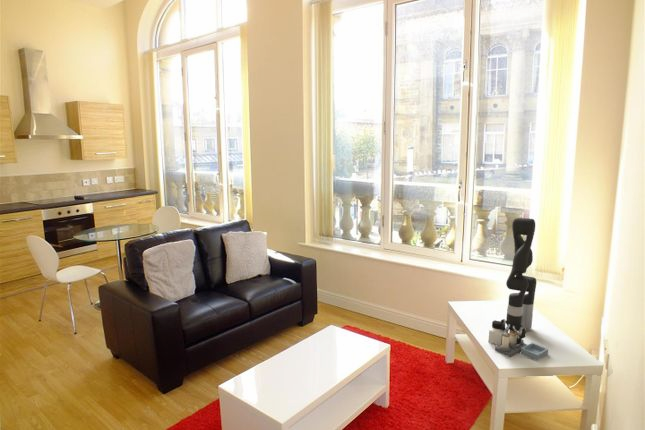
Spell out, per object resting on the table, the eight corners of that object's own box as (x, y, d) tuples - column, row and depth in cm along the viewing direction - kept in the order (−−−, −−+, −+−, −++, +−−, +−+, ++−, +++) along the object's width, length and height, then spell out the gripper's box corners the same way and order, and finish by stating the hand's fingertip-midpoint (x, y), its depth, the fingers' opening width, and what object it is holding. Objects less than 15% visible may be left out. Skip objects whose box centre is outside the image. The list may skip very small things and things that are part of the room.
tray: (531, 347, 228) (531, 342, 227) (547, 354, 220) (548, 349, 220) (520, 353, 221) (520, 348, 221) (537, 361, 214) (537, 355, 214)
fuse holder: (512, 341, 235) (514, 323, 233) (528, 347, 228) (530, 329, 226) (494, 350, 225) (495, 331, 223) (509, 357, 217) (511, 338, 215)
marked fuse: (510, 343, 228) (511, 328, 227) (516, 346, 225) (517, 331, 224) (506, 345, 226) (508, 330, 225) (512, 348, 223) (514, 332, 222)
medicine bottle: (501, 345, 230) (503, 325, 228) (488, 341, 234) (489, 322, 232) (504, 340, 236) (506, 321, 233) (491, 337, 240) (493, 317, 238)
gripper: (531, 315, 219) (528, 344, 222) (506, 306, 230) (503, 334, 233) (523, 319, 214) (520, 348, 217) (498, 309, 226) (496, 338, 229)
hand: (512, 341), depth 225 cm, fingers open, 6 cm apart
